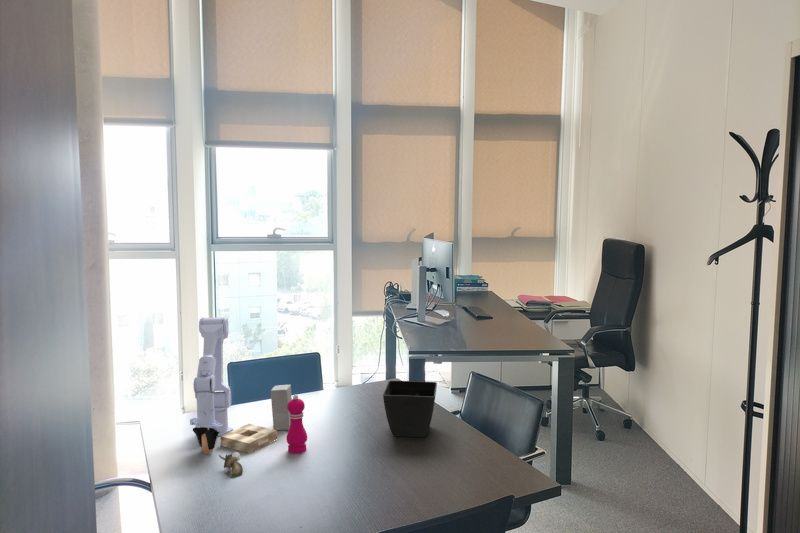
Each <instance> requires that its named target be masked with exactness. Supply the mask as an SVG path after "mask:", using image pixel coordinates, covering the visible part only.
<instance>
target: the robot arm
mask: <svg viewBox="0 0 800 533" xmlns="http://www.w3.org/2000/svg"><path fill="white" fill-rule="evenodd" d="M198 332H199V333H200V336H201V338H203V354H202V356H201V357H200V358H199V360H198V364H197V365H198V366H197V372H196V377H195V378H194V379H193V392H194V397H195V399H196V415H197V416H196V417H193V418H190V419H189V425H191V426H193V425H194V427H193V428H192V432H194V434H195V436H196V439H197V441H198V444H199V447H200V448H202V436H201V435H202V434H205V435H206V438H207V443H208V449H209V450H211V449H213V450H214V449H215V447H216V443H217V440H218V437H220V436H222V435H224V434H226V433H229V432H231V431H233V430H234V428H232V427H229V418H228V417H229V416H228V413H229V412H228V409H229V408H230V407H231V406H232V393H231V388H230V386H229V385H227V384H226V383H225V382H224V354H223V353H224V350H223V349H224V346H223V345H224V340H225V339H228V337H229V320H228V317H226V316H221V317H219V316H218V317H200V319H199V321H198Z"/></svg>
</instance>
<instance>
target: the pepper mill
mask: <svg viewBox="0 0 800 533" xmlns="http://www.w3.org/2000/svg"><path fill="white" fill-rule="evenodd" d="M305 406H306V405H305V402H304V401H303V399H301V398H299V396H298V395H297V394H294V395H293V396H292V400H290V401H289V402H288V405H287V409H288V411H289V412H290V413H289V418H290V421H291V422H290V428H289V430H287V434H286V438H285V439H286V442H287V444H288V446H287V452H288V451H289V452H290V454H292V453H293V455H298V454H303V453H305V452H306V451H307V444H306V443H307V441H308V433H307V431H306V429H305V427H304V423H303V418H304V410H305ZM289 452H288V453H289Z"/></svg>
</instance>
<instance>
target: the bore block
mask: <svg viewBox="0 0 800 533" xmlns="http://www.w3.org/2000/svg"><path fill="white" fill-rule="evenodd" d="M219 437H220V438H219V439H220V446H221V447H225V448H229V449H232V450H235V451H240V452H244V453H246V454H251V453H253V452H255V451H257V450H259V449H261V448H262V447H265V446H267V445H269V444H271V443H272V442H273V443H274V442H275V441H277V440H278V430H274V428H273V429H272V428H269V427H264V426H260V425H256V424H251V423H247V424H245V425H242V426H240V427H238V428H235V429H233V430H232V431H230V432H227V433H225V434H223V435H220V436H219ZM276 439H277V440H276ZM274 440H275V441H274ZM270 442H271V443H270Z"/></svg>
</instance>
